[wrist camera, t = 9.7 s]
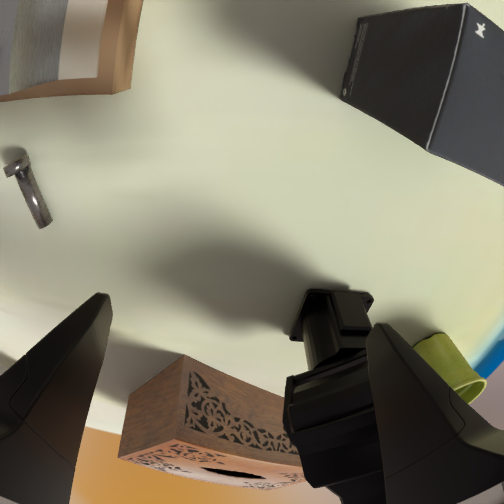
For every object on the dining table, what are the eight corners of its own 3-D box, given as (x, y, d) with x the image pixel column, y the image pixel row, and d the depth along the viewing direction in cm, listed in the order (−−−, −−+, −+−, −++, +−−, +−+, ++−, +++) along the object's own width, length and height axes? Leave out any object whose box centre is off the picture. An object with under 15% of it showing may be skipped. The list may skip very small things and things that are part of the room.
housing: (80, -47, 8) (29, -68, 4) (58, 80, 12) (-1, 97, 8) (15, -27, 7) (-40, -33, 3) (-2, 87, 12) (-59, 108, 7)
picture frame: (130, 88, 16) (110, 95, 13) (-5, 97, 14) (-32, 108, 12) (156, -53, 10) (141, -70, 8) (9, -21, 9) (-18, -23, 6)
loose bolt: (58, 216, 21) (46, 231, 19) (40, 222, 21) (27, 236, 19) (32, 151, 18) (15, 161, 16) (14, 160, 18) (-2, 171, 16)
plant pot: (426, 318, 29) (456, 382, 22) (471, 325, 31) (499, 378, 24) (381, 368, 34) (399, 428, 27) (429, 369, 36) (448, 420, 29)
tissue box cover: (129, 393, 37) (117, 457, 29) (184, 352, 31) (174, 438, 23) (264, 440, 47) (267, 490, 39) (330, 412, 42) (340, 470, 33)
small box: (334, 105, 17) (419, 158, 9) (357, 14, 14) (461, -10, 5) (456, 150, 19) (552, 220, 10) (479, 75, 15) (587, 116, 6)
